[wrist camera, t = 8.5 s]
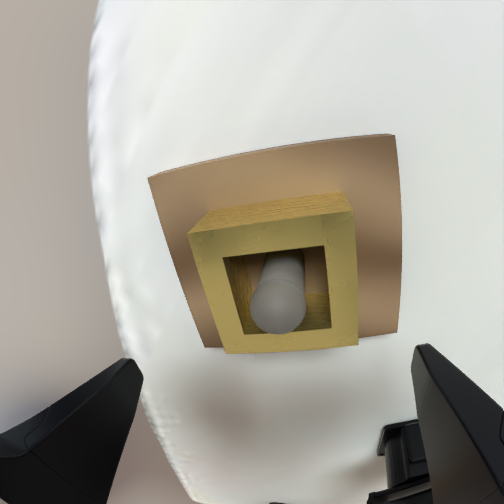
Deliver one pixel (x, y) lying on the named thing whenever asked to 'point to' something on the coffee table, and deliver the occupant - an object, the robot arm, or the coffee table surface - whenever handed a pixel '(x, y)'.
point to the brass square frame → (275, 239)
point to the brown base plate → (301, 259)
